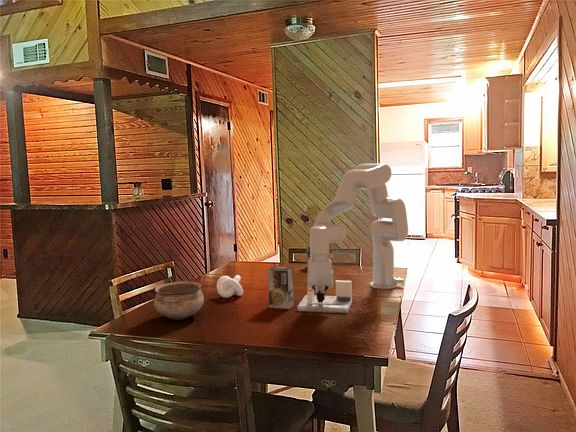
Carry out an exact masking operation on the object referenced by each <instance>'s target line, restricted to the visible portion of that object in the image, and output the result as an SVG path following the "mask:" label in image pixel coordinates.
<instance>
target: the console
mask: <svg viewBox="0 0 576 432" xmlns="http://www.w3.org/2000/svg"><path fill="white" fill-rule="evenodd" d="M352 302H353V296H352V297H351V299H349V300H339V299H337V297H336V295H325V300H323V302H322V303H321V302H320V303H318V300H317V294H316V295H315V294H314V302H313V304H308V303H307V294H305V295H304V297H303V298H302V300H301V301H299V304H298V305H297V312H310V313H311V312H314V313H315V312H316V313H333V314H334V313H335V314H339V313H340V314H348V313H349V310H350V307H351V305H352Z"/></svg>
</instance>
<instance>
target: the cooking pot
mask: <svg viewBox="0 0 576 432" xmlns="http://www.w3.org/2000/svg"><path fill="white" fill-rule="evenodd" d="M201 287H202V284H201V283H199V282H195V281H174V282H169V283H168V282H167V283H164V284H161V285H158V286H157V287H155V292H156V293H155V296H154V301H153V303H154V304H153V305H154V308H155V310H156V312H157V313H159V314H160V315H161V316H163V317H166V318H168V319H170V320H173V321H184V320H187V319H188V318H190V317H192V316H193V315H195V314H196V313H197V312H199V310H201V308H202V307H203V304H204V302H205V300H204V299H205V298H204V294H203V291H202V289H201Z"/></svg>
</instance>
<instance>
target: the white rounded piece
mask: <svg viewBox="0 0 576 432" xmlns="http://www.w3.org/2000/svg"><path fill="white" fill-rule="evenodd" d="M241 279H242V278H241V276H240V275H238V274H236V275H234V277H233V278H231V276H229V275H222V276H221V277H219V278H218V280H217V282H216V289H217V293H218V295H220V297H222V298H224V299H228V298H231V297H232V296H233V295H234V294H235V295H236V296H238V297H241V296H243V294H244V290H243V287H242V285H241V284H240V282H241Z"/></svg>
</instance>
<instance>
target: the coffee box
mask: <svg viewBox="0 0 576 432" xmlns="http://www.w3.org/2000/svg"><path fill="white" fill-rule="evenodd" d="M293 274H294V273H293V267H292V266H291V267H289V266H272V267H270V268H269V269H267V282H268V283H267V284H268V285H267V286H268V308H270V309H285V310H289V309H291V308H292V307H293V306H294V304H295V302H294V300H295V299H294V275H293Z"/></svg>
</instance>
